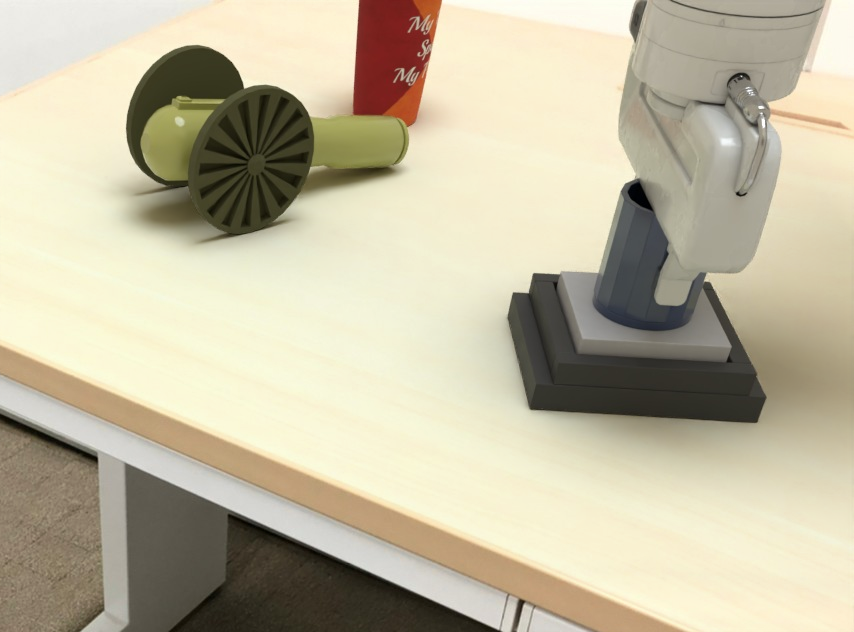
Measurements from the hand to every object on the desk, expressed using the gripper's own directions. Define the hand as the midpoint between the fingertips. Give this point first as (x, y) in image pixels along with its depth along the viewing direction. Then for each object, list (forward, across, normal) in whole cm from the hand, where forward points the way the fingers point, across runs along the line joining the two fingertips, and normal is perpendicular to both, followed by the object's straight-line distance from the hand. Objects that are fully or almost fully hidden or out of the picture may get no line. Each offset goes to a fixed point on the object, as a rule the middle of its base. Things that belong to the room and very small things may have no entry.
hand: (653, 270), depth 79 cm
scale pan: (+4, 0, 0) cm, 4 cm away
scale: (+7, 0, 0) cm, 7 cm away
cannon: (+7, +25, +24) cm, 35 cm away
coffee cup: (+7, +43, +14) cm, 46 cm away
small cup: (+3, 0, 0) cm, 3 cm away
